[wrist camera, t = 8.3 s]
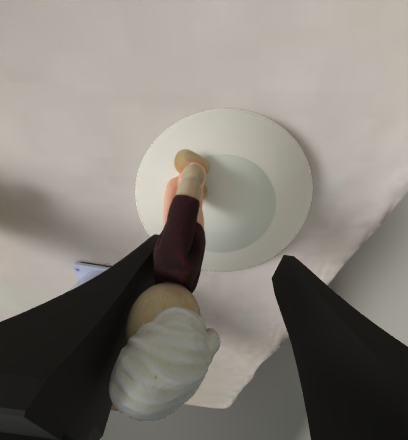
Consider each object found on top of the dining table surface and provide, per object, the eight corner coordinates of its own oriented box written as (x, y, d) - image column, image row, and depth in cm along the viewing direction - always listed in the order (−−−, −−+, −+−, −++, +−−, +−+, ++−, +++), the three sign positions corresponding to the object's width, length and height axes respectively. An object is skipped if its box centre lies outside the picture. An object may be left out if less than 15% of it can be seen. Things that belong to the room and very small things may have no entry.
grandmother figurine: (156, 136, 12) (-108, 425, 2) (211, 131, 11) (220, 443, 2) (177, 219, 17) (132, 415, 7) (215, 217, 16) (224, 419, 7)
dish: (270, 274, 20) (273, 281, 19) (142, 254, 20) (138, 260, 19) (345, 129, 12) (356, 129, 11) (134, 91, 12) (127, 89, 11)
